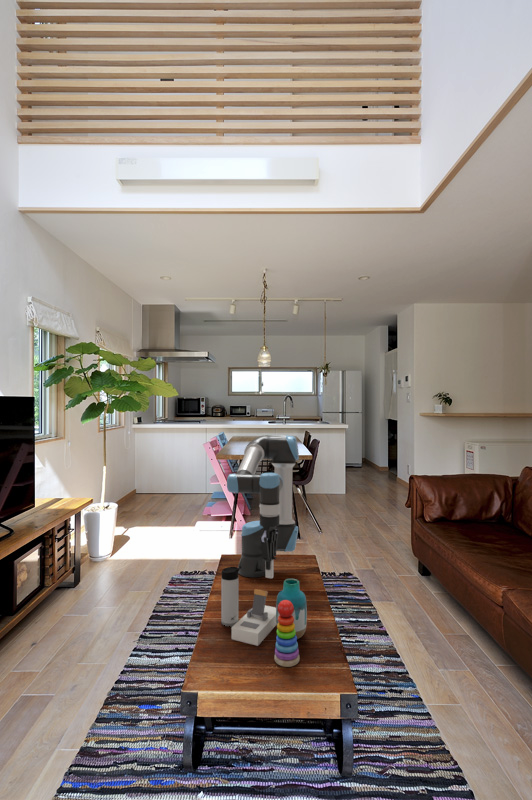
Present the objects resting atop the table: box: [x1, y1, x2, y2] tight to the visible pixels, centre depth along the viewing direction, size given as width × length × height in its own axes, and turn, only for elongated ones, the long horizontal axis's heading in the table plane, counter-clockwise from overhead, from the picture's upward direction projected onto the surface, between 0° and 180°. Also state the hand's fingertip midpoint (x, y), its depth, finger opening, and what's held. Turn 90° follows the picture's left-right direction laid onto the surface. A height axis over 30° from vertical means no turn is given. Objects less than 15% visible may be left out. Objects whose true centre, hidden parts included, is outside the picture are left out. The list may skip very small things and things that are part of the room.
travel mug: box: [220, 566, 240, 627], centre depth 167 cm, size 6×7×20 cm
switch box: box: [231, 604, 277, 647], centre depth 162 cm, size 20×10×6 cm, turn 155°
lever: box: [251, 588, 269, 618], centre depth 164 cm, size 2×4×9 cm, turn 65°
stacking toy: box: [273, 600, 301, 668], centre depth 143 cm, size 8×8×19 cm
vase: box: [275, 578, 308, 640], centre depth 157 cm, size 11×11×19 cm
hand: (269, 577), depth 172 cm, fingers closed
